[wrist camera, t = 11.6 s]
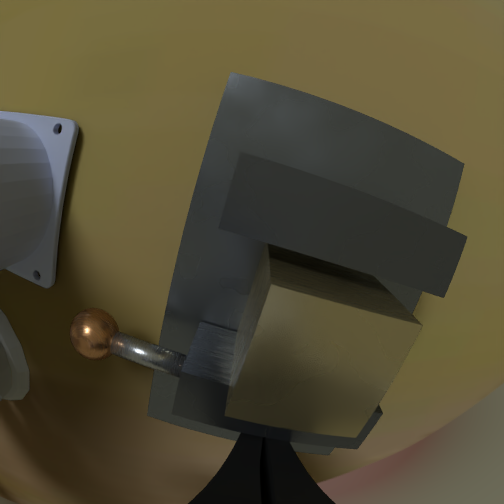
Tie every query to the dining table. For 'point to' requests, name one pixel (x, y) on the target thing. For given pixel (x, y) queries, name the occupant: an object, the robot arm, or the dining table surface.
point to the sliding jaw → (193, 375)
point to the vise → (304, 213)
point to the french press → (12, 364)
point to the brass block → (316, 346)
